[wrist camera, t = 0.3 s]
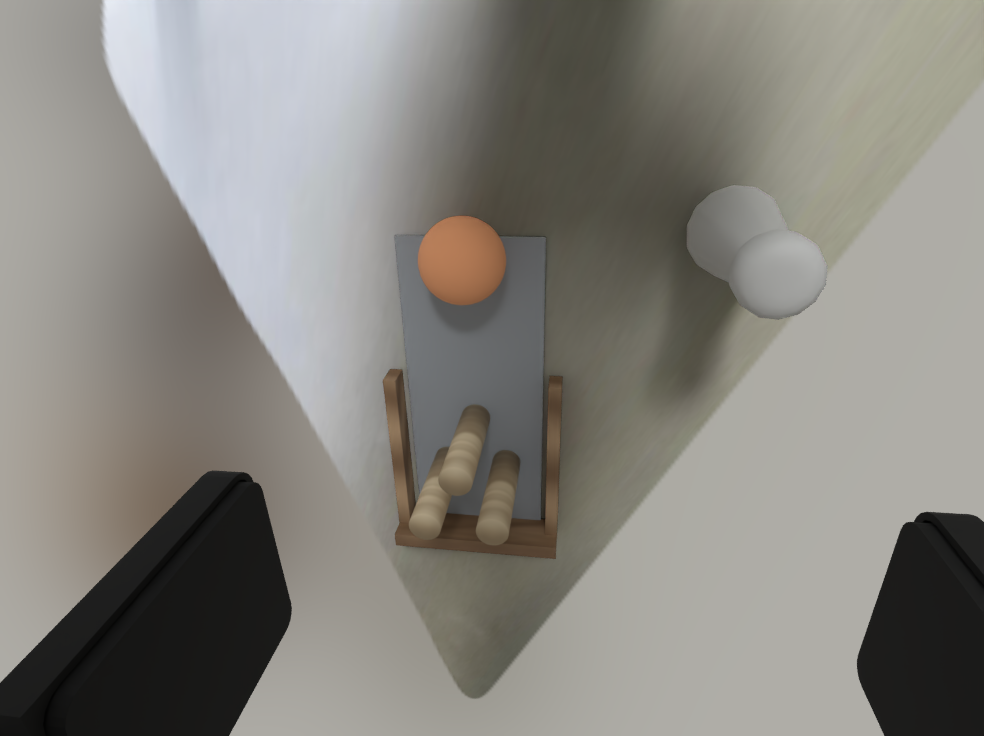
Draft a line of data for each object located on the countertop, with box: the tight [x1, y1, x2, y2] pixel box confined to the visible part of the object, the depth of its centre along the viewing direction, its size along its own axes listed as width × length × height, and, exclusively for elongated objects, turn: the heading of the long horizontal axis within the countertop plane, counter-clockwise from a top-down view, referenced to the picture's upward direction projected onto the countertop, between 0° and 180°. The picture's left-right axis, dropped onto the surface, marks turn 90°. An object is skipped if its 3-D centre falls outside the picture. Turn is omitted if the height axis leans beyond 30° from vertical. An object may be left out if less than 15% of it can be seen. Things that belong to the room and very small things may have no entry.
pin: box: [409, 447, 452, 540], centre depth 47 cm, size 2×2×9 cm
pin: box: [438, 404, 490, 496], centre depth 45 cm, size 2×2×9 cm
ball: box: [418, 216, 506, 305], centre depth 40 cm, size 6×6×6 cm
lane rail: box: [383, 369, 562, 559], centre depth 49 cm, size 16×14×4 cm
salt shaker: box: [687, 185, 827, 320], centre depth 33 cm, size 6×6×13 cm
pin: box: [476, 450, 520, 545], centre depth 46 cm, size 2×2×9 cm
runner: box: [395, 235, 546, 520], centre depth 48 cm, size 26×11×1 cm, turn 1°
